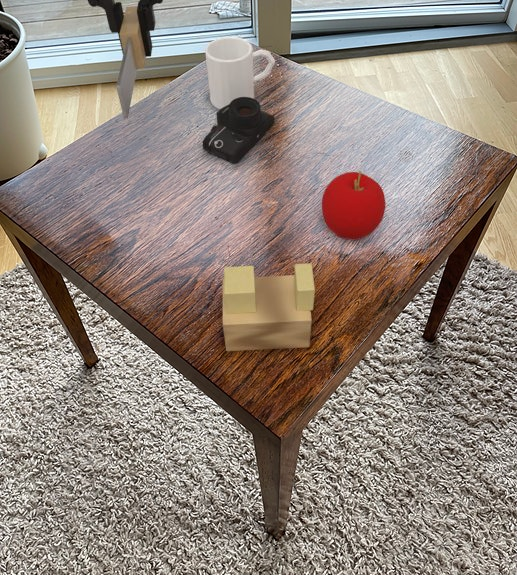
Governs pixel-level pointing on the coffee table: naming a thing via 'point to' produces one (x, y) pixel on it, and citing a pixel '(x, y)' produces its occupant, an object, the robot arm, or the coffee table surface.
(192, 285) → the coffee table surface
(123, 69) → the knife
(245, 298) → the butter block
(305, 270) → the butter slice
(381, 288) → the coffee table surface
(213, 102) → the mug
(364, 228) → the fruit
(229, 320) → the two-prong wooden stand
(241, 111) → the film camera
